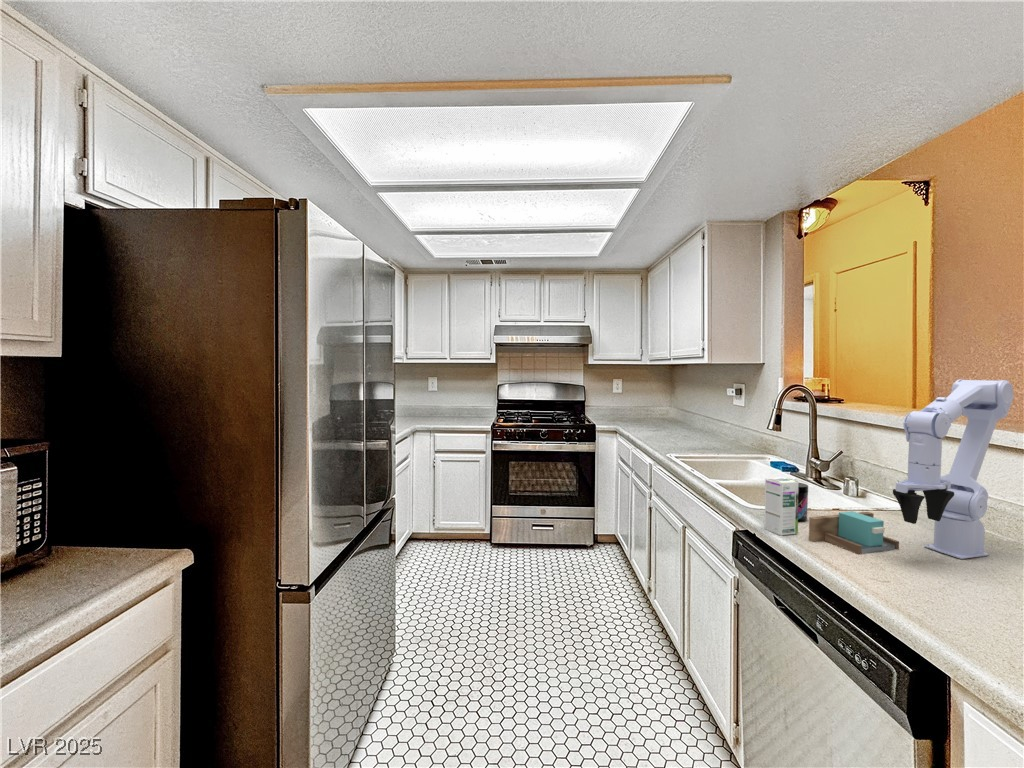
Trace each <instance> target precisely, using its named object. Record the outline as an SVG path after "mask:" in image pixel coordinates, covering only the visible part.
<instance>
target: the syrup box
mask: <svg viewBox="0 0 1024 768" xmlns="http://www.w3.org/2000/svg"><path fill="white" fill-rule="evenodd" d="M798 482H799V481H798V480H795V479H793V478H788V477H770V478H769V477H767V478H764V529H765V530H766V531H769V532H771V533H774V535H775V534H776V535H778V536H781V537H782V536H788V535H797V534H798V533H799V522H798Z"/></svg>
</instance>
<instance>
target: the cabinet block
mask: <svg viewBox="0 0 1024 768" xmlns="http://www.w3.org/2000/svg"><path fill="white" fill-rule="evenodd" d="M859 513H860V512H856V511H840V512H838V515H839V528H838V535H839V536H842V537H844V538H847V539H850V540H853V541H855V542H858V543H861V544H863V545H866V546H869V547H870V546H878V545H883V536H884V533H885V527H884V523H885V521H884V520H881V519H878V518H875V517H874V518H872V517H869V516H866V515H863V514H859Z"/></svg>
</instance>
